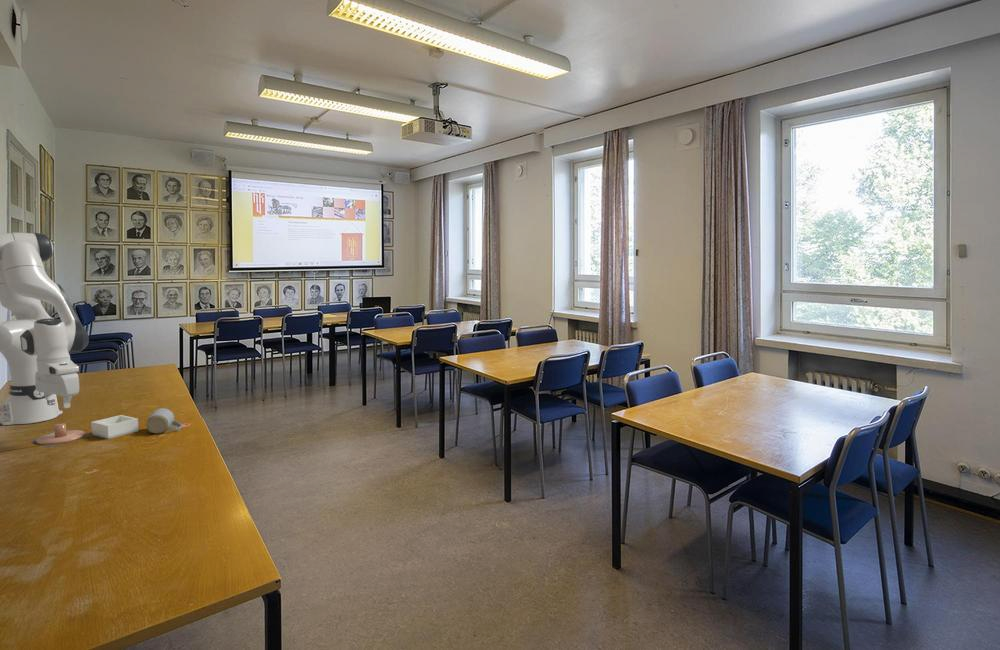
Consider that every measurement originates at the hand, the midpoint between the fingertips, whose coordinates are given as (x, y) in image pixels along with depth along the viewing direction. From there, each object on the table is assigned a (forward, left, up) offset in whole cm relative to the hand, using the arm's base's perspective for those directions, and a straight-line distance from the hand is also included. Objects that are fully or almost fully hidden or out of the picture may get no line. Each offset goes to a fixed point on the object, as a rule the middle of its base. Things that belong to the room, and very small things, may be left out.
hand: (58, 406), depth 182 cm
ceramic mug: (+21, +22, -12) cm, 33 cm away
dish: (+9, +12, -12) cm, 19 cm away
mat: (-1, 0, -12) cm, 12 cm away
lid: (-1, 0, -11) cm, 11 cm away
